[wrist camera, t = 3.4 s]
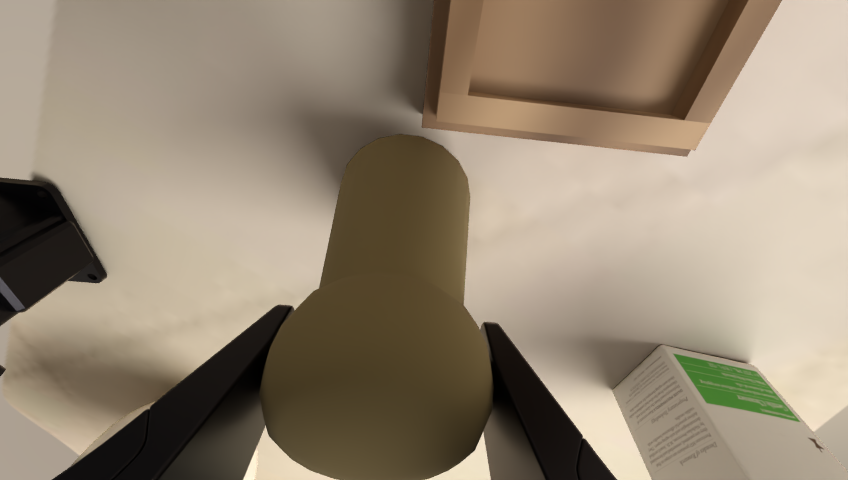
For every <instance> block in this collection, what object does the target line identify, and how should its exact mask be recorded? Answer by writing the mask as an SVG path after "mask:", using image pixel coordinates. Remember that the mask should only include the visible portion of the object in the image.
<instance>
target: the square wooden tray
mask: <svg viewBox="0 0 848 480" xmlns="http://www.w3.org/2000/svg"><path fill="white" fill-rule="evenodd" d="M781 1H782V0H434V6H433V16H432V26H431V36H430V47H429V57H428V67H427V77H426V87H425V98H424V108H423V119H422V128H431V129H441V130H450V131H459V132H468V133H477V134H486V135H495V136H504V137H513V138H522V139H532V140H541V141H550V142H559V143H568V144H577V145H586V146H595V147H604V148H613V149H623V150H632V151H641V152H650V153H659V154H668V155H677V156H686V157H687V156H688V154H689V152H690V150H695V149H696V148H697V146H698V144H699V142H700V141H701V139H702V137H703V136H704V134H705V132H706V130H707V129H708V127H709V125H710V123H711V122H712V120H713V118H714V117H715V115H716V113H717V111H718V110H719V108H720V106H721V105H722V103H723V101H724V99H725V98H726V96H727V94H728V92H729V91H730V89H731V87H732V86H733V84H734V82H735V80H736V79H737V77H738V75H739V74H740V72H741V70H742V68H743V67H744V65H745V63H746V62H747V60H748V58H749V56H750V55H751V53H752V51H753V49H754V48H755V46H756V44H757V43H758V41H759V39H760V37H761V36H762V34H763V32H764V31H765V29H766V27H767V25H768V24H769V22H770V20H771V18H772V17H773V15H774V13H775V12H776V10H777V8H778V6H779V5H780V3H781Z"/></svg>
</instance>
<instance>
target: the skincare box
mask: <svg viewBox="0 0 848 480" xmlns="http://www.w3.org/2000/svg"><path fill="white" fill-rule="evenodd" d="M613 394H614V396H615V398H616V400H617V403H618V405H619V407H620V409H621V412H622V414H623V416H624V418H625V421H626V423H627V425H628V427H629V430H630V432H631V434H632V437H633V439H634V441H635V443H636V445H637V448H638V450H639V452H640V454H641V456H642V459H643V461H644V463H645V465H646V468H647V470H648V472H649V474H650V477H651V479H652V480H848V471H847V470H846V469H845V468H844V467H843V465H842V464H841V463H840V462H839V461H838V460H837V459H836V458H835V456H834V455H833V454H832V453H831V452H830V450H828V448H827V447H826V446H825V445H824V444H823V443H822V441H821V440H820V439H819V438H818V437H817V436H816V435H815V433H814V432H813V431H812V430H811V429H810V428H809V426H808V425H807V424H806V423H805V422H804V421H803V420H802V419H801V417H800V416H799V415H798V414H797V413H796V412H795V411H794V410H793V408H792V407H791V406H790V405H789V404H788V403H787V402H786V400H785V399H784V398H783V397H782V396H781V395H780V394H779V392H778V391H777V390H776V389H775V388H774V387H773V386H772V385H771V383H770V382H769V381H768V380H767V379H766V378H765V376H764V375H763V374H762V373H761V372H760V371H759V370H758V369H757V368H756V367H755V366H753V365H751V364H746V363H740V362H736V361H732V360H728V359H724V358H719V357H714V356H710V355H705V354H701V353H696V352H692V351H687V350H683V349H678V348H674V347H670V346H666V345H660V346H658V347H657V348H656V349H655V350H654V351H653V352H652V353H651V354H650V355H649V356H648V357H647V358H646V359H645V360H644V361H643V362H642V363H641V364H640V365H639V366H638V367H637V368H635V369H634V370H633V371H632V372H631V373H630V374H629V375H628V376H627V377H626V378H625V379H624V380H623V381H622V382H621V383H620V384H618V385H617V386H616V387H615V388H614V389H613Z"/></svg>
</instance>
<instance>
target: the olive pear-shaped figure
mask: <svg viewBox="0 0 848 480" xmlns="http://www.w3.org/2000/svg"><path fill="white" fill-rule="evenodd" d="M469 206H470V193H469V185H468V178H467V176H466V175H465V173H464V171H463V169H462V167H461V165H460V163H459V161H458V160H457V159H456V158H455V157H454V156H453V155H452V154H451V153H449V152H448V151H447V150H446V149H445V148H444V147H443V146H441V145H439V144H437V143H435V142H433V141H430V140H428V139H426V138H424V137H420V136H411V135H403V134H398V135H393V136H388V137H383V138H378V139H377V140H375V141H373V142H371V143H370V144H368V145H366V146H365V147H363V148H361V149H360V150H359V151H358V152H357V153H356V155H355V156H354V157H353V158H352V159H351V161H350V162H349V163H348V164H347V167H346V170H345V173H344V176H343V178H342V181H341V185H340V190H339V195H338V200H337V205H336V210H335V214H334V219H333V224H332V229H331V234H330V238H329V243H328V248H327V253H326V258H325V262H324V267H323V272H322V277H321V282H320V287H319V289H317V290H315V291H313V292H312V293H311V294H310V295H309V296H308V297H307V298H306V299H305V300H304V301H303V302H302V303H301V304H300V306H299V307H298V308H297V309H296V310H295V311H294V312H293V313H292V314H291V315H290V316H289V317H288V319H287V320H286V321H285V322H284V323H283V324H282V325H281V327H280V329H279V331H278V333H277V335H276V337H275V339H274V341H273V343H272V345H271V347H270V350H269V353H268V356H267V360H266V363H265V366H264V370H263V376H262V381H261V387H260V392H259V395H260V401H261V406H262V412H263V418H264V422H265V425H266V428H267V431H268V435H269V437H270V438H271V439H272V440H273V441H274V442H275V443H276V444H277V445H278V446H279V447H280V448H281V449H282V450H283V451H284V452H285V453H286V454H287V455H288V456H289V457H290V458H291V459H292V460H294V461H295V462H297V463H299V464H300V465H302V466H304V467H306V468H307V469H309V470H311V471H313V472H316V473H319V474H322V475H325V476H328V477H330V478H334V479H339V480H425V479H429V478H432V477H434V476H436V475H439V474H441V473H443V472H446V471H448V470H450V469H451V468H453V467H454V466H456V465H457V464H459V463H460V462H462V461H463V460H464V459H465V458H466V457H467V456H469V455H470V454H471V453H472V452H473V451H475V449H476V446H477V444H478V442H479V440H480V437H481V435H482V433H483V431H484V428H485V426H486V424H487V421H488V419H489V417H490V415H491V412H492V404H493V392H494V385H493V378H492V371H491V364H490V359H489V354H488V349H487V344H486V342H485V340H484V338H483V336H482V334H481V332H480V330H479V328H478V326H477V324H476V322H475V321H474V320H473V318H472V317H471V315H470V314H469V312H468V311H467V309H466V308H465V307H464V305H463V304H464V288H465V271H466V255H467V239H468V223H469Z"/></svg>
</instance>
